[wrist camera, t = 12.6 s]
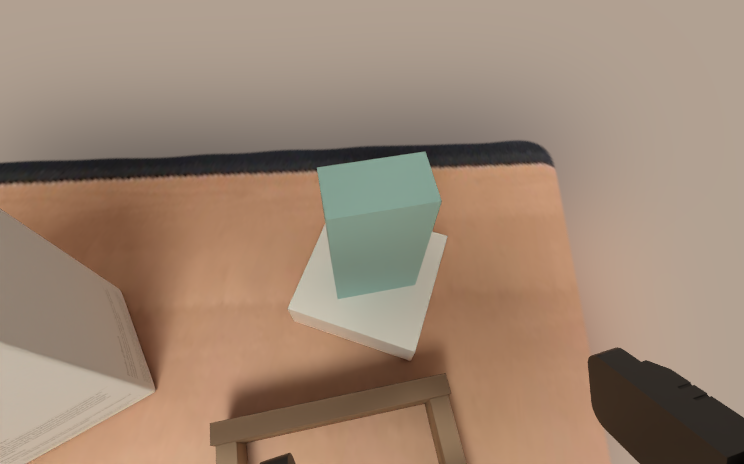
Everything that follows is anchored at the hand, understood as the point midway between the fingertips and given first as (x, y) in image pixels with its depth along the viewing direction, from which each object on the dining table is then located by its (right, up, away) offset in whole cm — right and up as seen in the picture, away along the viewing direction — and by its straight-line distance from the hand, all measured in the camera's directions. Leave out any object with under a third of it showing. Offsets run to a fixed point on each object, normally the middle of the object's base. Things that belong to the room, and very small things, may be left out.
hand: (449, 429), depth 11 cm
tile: (-2, +1, +22) cm, 22 cm away
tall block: (-2, +2, +19) cm, 19 cm away
